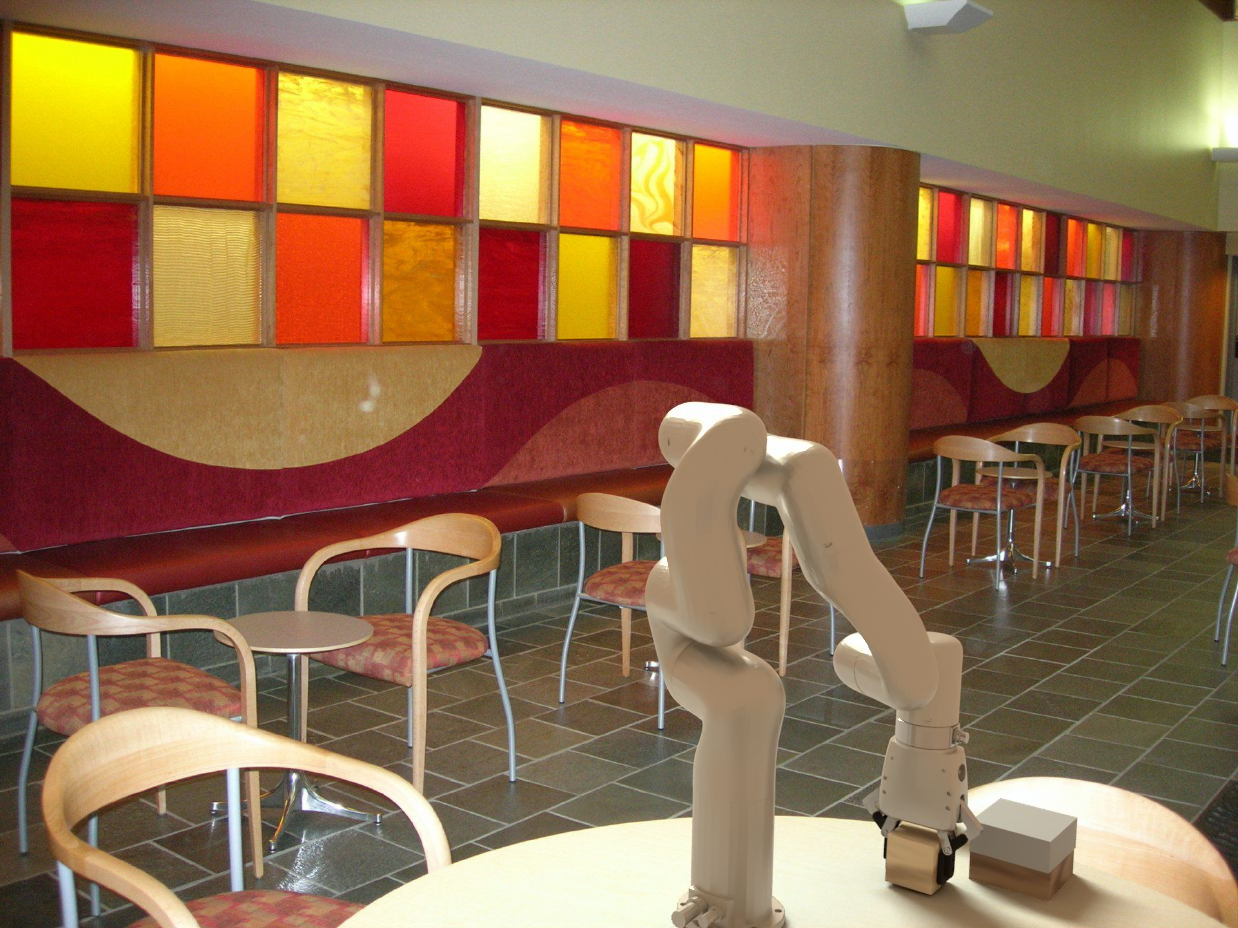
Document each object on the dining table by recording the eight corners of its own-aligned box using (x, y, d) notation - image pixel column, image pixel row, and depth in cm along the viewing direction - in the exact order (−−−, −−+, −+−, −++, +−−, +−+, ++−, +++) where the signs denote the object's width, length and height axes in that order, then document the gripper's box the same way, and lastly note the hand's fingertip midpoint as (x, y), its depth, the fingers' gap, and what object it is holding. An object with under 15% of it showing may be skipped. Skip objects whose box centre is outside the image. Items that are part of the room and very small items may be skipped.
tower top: (1048, 873, 145) (1050, 841, 144) (969, 850, 151) (970, 820, 150) (1075, 847, 152) (1077, 817, 152) (999, 826, 159) (1000, 797, 158)
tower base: (1048, 904, 145) (1050, 872, 145) (968, 881, 151) (969, 851, 151) (1072, 876, 153) (1074, 846, 153) (995, 855, 159) (997, 826, 159)
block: (931, 894, 145) (934, 847, 145) (885, 880, 149) (887, 834, 148) (949, 878, 150) (952, 832, 149) (904, 865, 153) (907, 820, 153)
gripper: (1005, 741, 146) (996, 883, 147) (874, 712, 156) (866, 845, 157) (984, 755, 140) (974, 904, 141) (849, 725, 150) (841, 863, 151)
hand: (917, 872), depth 149 cm, fingers closed on block, 6 cm apart
